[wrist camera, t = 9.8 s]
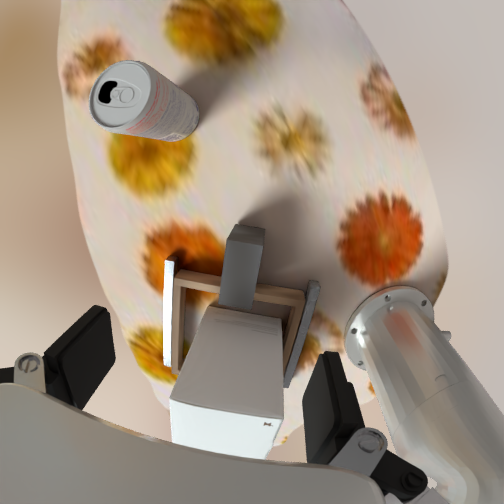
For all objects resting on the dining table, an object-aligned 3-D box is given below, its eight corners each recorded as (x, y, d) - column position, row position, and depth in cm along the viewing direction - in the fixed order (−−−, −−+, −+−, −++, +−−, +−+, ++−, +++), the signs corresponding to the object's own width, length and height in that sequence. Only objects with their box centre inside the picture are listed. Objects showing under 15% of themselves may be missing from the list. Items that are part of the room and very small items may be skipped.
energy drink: (163, 88, 25) (104, 54, 13) (208, 100, 25) (167, 63, 14) (145, 133, 26) (76, 123, 15) (188, 148, 27) (135, 140, 15)
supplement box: (206, 303, 32) (166, 396, 18) (282, 317, 32) (287, 418, 18) (200, 361, 35) (170, 452, 21) (267, 373, 35) (263, 469, 20)
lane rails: (318, 281, 30) (320, 287, 29) (288, 380, 35) (288, 388, 33) (169, 255, 30) (165, 259, 29) (167, 358, 35) (163, 365, 34)
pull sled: (315, 238, 28) (326, 257, 23) (277, 379, 35) (277, 412, 29) (185, 215, 29) (165, 229, 23) (177, 361, 35) (163, 391, 29)
